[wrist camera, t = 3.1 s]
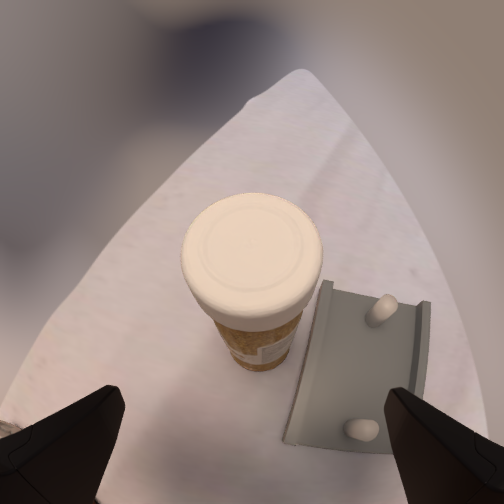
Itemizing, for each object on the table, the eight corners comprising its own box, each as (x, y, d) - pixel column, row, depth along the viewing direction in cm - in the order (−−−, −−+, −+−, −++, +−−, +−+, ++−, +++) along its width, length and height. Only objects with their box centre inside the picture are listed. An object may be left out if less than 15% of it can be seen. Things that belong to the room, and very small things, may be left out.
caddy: (399, 453, 15) (423, 458, 11) (281, 440, 16) (285, 447, 13) (420, 310, 20) (442, 291, 17) (319, 289, 22) (328, 266, 19)
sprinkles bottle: (217, 334, 21) (156, 227, 9) (268, 303, 22) (269, 170, 10) (250, 384, 18) (223, 346, 7) (303, 350, 20) (356, 259, 8)
